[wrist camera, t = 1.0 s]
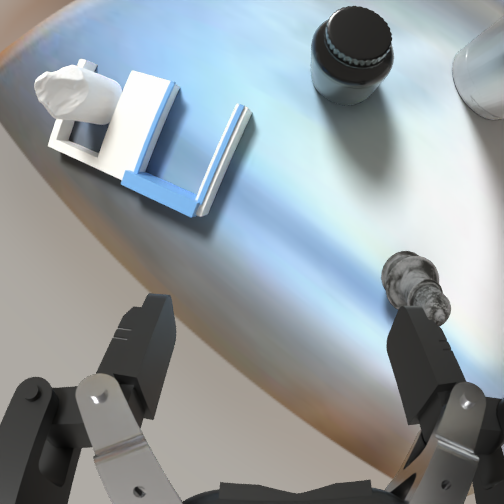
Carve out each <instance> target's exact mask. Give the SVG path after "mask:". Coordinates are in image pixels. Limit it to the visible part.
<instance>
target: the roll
mask: <svg viewBox="0 0 504 504" xmlns="http://www.w3.org/2000/svg"><path fill="white" fill-rule="evenodd" d="M34 85H35V87H34V88H35V91H36V95H37V97H38V100H39V102H40V103H42V104H43V105H44V107H45V108H46V109H47V111H48V112H49V113H50V114H51V116H52V117H53V118H56V119H63V120H74V121H81V122H87V123H93V124H98V125H105V124H108V123H110V121H111V119H112V116H113V114H114V111H115V109H116V106H117V104H118V101H119V99H120V96H121V94H122V92H123V91H122V88H121V86H120V85H119V83H117V82H116V81H114V80H112V79H110V78H107V77H105V76H102V75H100V74H98V73H95V72H93V71H90V70H87V69H84V68H81V67H78V66H75V65H70V66H67V67H63V68H61V69H60V70H58V71H55V72H45V73H44V74H42V75H41V76H39V77H38V78H37V80H36V81H35V84H34Z"/></svg>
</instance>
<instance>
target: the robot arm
mask: <svg viewBox="0 0 504 504" xmlns="http://www.w3.org/2000/svg"><path fill="white" fill-rule="evenodd" d="M452 71H453V78H454V82H455V85H456V88H457V90H458V92H459V94H460V96H461V97H462V99H463V100H464V102H465V103H466V104H467V105H468V106H469V107H470V108H471V109H472V110H473V111H474V112H475V113H477V114H478V115H480V116H482V117H484V118H487V119H491V120H498V119H503V118H504V16H503V17H502V18H500V19H499V20H498V21H496V22H495V23H494V24H493V25H491V26H490V27H489V28H487V29H486V30H485V31H484V32H482V33H481V34H480V35H478V36H477V37H476V38H475V39H473V40H472V41H471V42H470V43H469V44H467V45H466V46H465V47H464V48H462V49H461V50H460V51H459V52H458V53H457V54H456V56H455V58H454V61H453V68H452ZM175 341H176V325H175V318H174V312H173V305H172V299H171V296H170V295H163V294H151V293H149V294H148V295H147V297H146V299H145V301H144V303H143V305H142V307H133V308H132V309H130V310H129V311H128V312H127V313H126V314H125V315H124V316H123V318H122V320H121V322H120V324H119V326H118V329H117V330H116V332H115V334H114V338H112V340H111V342H110V344H109V347H108V349H107V351H106V353H105V355H104V357H103V360H102V362H101V364H100V366H99V368H98V371H97V372H96V374H93V375H90V376H88V377H86V378H84V379H83V380H82V381H81V382H80V383H79V385H78V386H75V387H62V388H52V387H51V386H50V384H49V383H48V382H47V381H46V380H45V379H43V378H40V377H32V378H28V379H26V380H25V381H23V382H22V383H21V384H20V385H19V386H18V387H17V389H16V391H15V393H14V395H13V397H12V399H11V402H10V404H9V406H8V408H7V410H6V413H5V415H4V417H3V420H2V422H1V424H0V504H68V499H69V495H70V491H71V486H72V482H73V478H74V475H75V471H76V467H77V463H78V459H79V456H80V452H81V449H82V448H87V447H93V449H94V452H95V456H94V463H95V466H96V469H97V471H98V473H99V476H100V478H101V480H102V482H103V485H104V487H105V489H106V491H107V494H108V496H109V498H110V500H111V502H112V504H464V501H465V499H466V496H467V494H468V491H469V488H470V486H471V483H472V482H473V488H474V493H475V499H476V504H504V455H503V452H502V448H501V446H502V445H503V444H504V398H503V399H497V398H490V397H485V395H484V393H483V392H482V390H481V389H480V388H479V387H478V386H476V385H475V384H473V383H469V382H466V380H465V378H464V375H463V373H462V371H461V369H460V367H459V364H458V362H457V360H456V358H455V356H454V354H453V351H451V347H450V345H449V343H448V342H447V339H446V337H445V335H444V333H443V331H442V329H441V328H440V327H439V326H438V325H437V324H436V323H435V322H434V321H433V320H429V319H428V317H427V315H426V313H425V311H424V309H423V308H422V307H421V306H401V307H400V308H399V310H398V312H397V315H396V317H395V320H394V323H393V325H392V328H391V330H390V332H389V335H388V338H387V353H388V356H389V359H390V363H391V366H392V369H393V372H394V376H395V379H396V382H397V386H398V389H399V393H400V396H401V400H402V403H403V407H404V411H405V414H406V418H407V422H408V425H414V424H420V427H421V430H420V431H419V432H418V434H417V436H416V438H415V440H414V442H413V444H412V446H411V448H410V450H409V452H408V454H407V456H406V458H405V460H404V462H403V464H402V466H401V468H400V469H399V471H398V473H397V474H396V476H395V477H394V479H393V480H392V481H391V482H390V483H389V485H388V486H387V487H386V489H385V490H381V489H376V488H371V481H370V480H364V481H356V482H346V483H335V484H332V485H329V486H325V487H322V488H319V489H315V490H311V491H308V492H304V493H298V494H296V493H290V492H286V491H282V490H277V489H273V488H269V487H265V486H261V485H251V484H234V483H223V482H220V489H219V490H212V491H208V492H204V493H200V494H198V495H195V496H193V497H190V498H188V499H186V500H185V501H183V502H182V500H181V499H180V497H179V496H178V494H177V493H176V491H175V489H174V488H173V486H172V485H171V483H170V481H169V480H168V478H167V476H166V475H165V473H164V471H163V470H162V468H161V466H160V464H159V463H158V461H157V459H156V457H155V456H154V454H153V452H152V450H151V448H150V446H149V445H148V443H147V441H146V439H145V437H144V435H143V433H142V431H141V429H140V428H141V425H142V421H143V418H146V419H152V420H153V419H154V416H155V412H156V409H157V405H158V401H159V398H160V394H161V391H162V387H163V383H164V380H165V376H166V373H167V369H168V366H169V362H170V358H171V355H172V352H173V349H174V345H175Z"/></svg>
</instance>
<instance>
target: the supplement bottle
mask: <svg viewBox="0 0 504 504" xmlns="http://www.w3.org/2000/svg"><path fill="white" fill-rule="evenodd" d="M391 35H392V34H391V32H390V28H389V27H388V24H387V23H386V22H385V21H384V19H383V18H381V17H380V16H379V15H378V14H376V13H375V12H374V11H371V10H369V9H367V8H363V7H357V6H352V7H350V6H348V7H346V8H341V9H340V10H337V11H336V12H334V13H333V14H332V16H331V17H330V18H329V19H328V20H326V21H325V22H323V23H322V24H321V25H320V26H319V27H318V29H317V30H316V32H315V33H314V36H313V39H312V45H311V77H312V81H313V84H314V86H315V88H316V89H317V91H318V92H319V93H320V94H321V95H322V96H323V97H324V98H326V99H327V100H329V101H331V102H333V103H336V104H339V105H355V104H358V103H361V102H363V101H364V100H366V99H367V98H368V97H369V96H370V95H371V94H372V93H373V92H374V91H375V89H376V88H377V87H378V86H379V85H380V84H381V82H382V81H383V80H384V79H385V78H386V77H387V75H388V74H389V72H390V70H391V68H392V65H393V61H394V52H393V47H392V44H391V41H392V37H391Z"/></svg>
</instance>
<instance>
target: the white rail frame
mask: <svg viewBox="0 0 504 504" xmlns="http://www.w3.org/2000/svg"><path fill="white" fill-rule="evenodd" d="M77 66H78V67H81V68H84V69H87V70H90V71H93V72H94V71H95V69H96V67H97V64H95V63H92V62H90V61H87V60H84V59H80V60H79V62H78V65H77ZM179 88H180V86H178V85H176V84H175V82H173V81H168V80H165V79H161V78H158V77H154V76H151V75H147V74H143V73H140V72H136V71H131V74H130V76H129V78H128V80H127V82H126V85H125V87H124V89H123V92H122V94H121V96H120V99H119V101H118V104H117V106H116V109H115V111H114V114H113V116H112V119H111V121H110V124H109V127H108V129H107V132H106V135H105V138H104V140H103V143H102V146H101V149H100V152H99V153H97V152H94V151H92V150H90V149H87V148H85V147H83V146H80V145H78V144H76V143H73V142H71V141H69V137H70V134H71V131H72V128H73V125H74V122H75V121H74V120H63V119H56V122H55V125H54V128H53V131H52V134H51V137H50V141H49V144H48V146H49V147H51V148H53V149H55V150H57V151H60V152H62V153H64V154H66V155H68V156H71V157H73V158H75V159H77V160H79V161H81V162H84V163H86V164H88V165H90V166H92V167H94V168H97V169H99V170H101V171H103V172H105V173H107V174H110V175H112V176H114V177H116V178H118V179H120V180H122V182H121V185H123V186H125V187H128V188H130V189H132V190H134V191H136V192H138V193H140V194H142V195H144V196H147V197H149V198H151V199H153V200H155V201H157V202H159V203H161V204H163V205H166V206H168V207H170V208H172V209H174V210H176V211H178V212H180V213H182V214H185V215H187V216H189V217H191V218H192V217H195V216H199V217H202V216H205V215H207V214H208V213H209V210H210V208H211V206H212V203H213V201H214V198H215V196H216V194H217V191H218V189H219V187H220V184H221V182H222V179H223V177H224V175H225V172H226V170H227V168H228V166H229V163H230V161H231V159H232V156H233V154H234V152H235V150H236V147H237V145H238V143H239V141H240V138H241V136H242V134H243V132H244V130H245V127H246V125H247V123H248V121H249V119H250V116H251V114H252V112H251V110H250V109H249V108H248V107H245V106H243V105H241V104H236V106H235V108H234V111H233V113H232V115H231V117H230V119H229V122H228V124H227V126H226V128H225V130H224V133H223V135H222V137H221V140H220V142H219V144H218V146H217V149H216V151H215V153H214V156H213V158H212V160H211V163H210V165H209V167H208V170H207V172H206V175H205V177H204V179H203V182H202V184H201V187H200V189H199V192H198V194H197V195H196V194H194V193H192V192H189V191H187V190H185V189H183V188H180V187H178V186H176V185H174V184H172V183H169V182H167V181H165V180H163V179H160V178H158V177H156V176H154V175H151V174H149V173H147V172H145V171H146V168H147V166H148V163H149V160H150V158H151V155H152V152H153V150H154V147H155V145H156V142H157V140H158V137H159V135H160V132H161V130H162V127H163V125H164V123H165V120H166V118H167V116H168V113H169V111H170V109H171V106H172V104H173V102H174V100H175V97H176V95H177V93H178V91H179Z"/></svg>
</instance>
